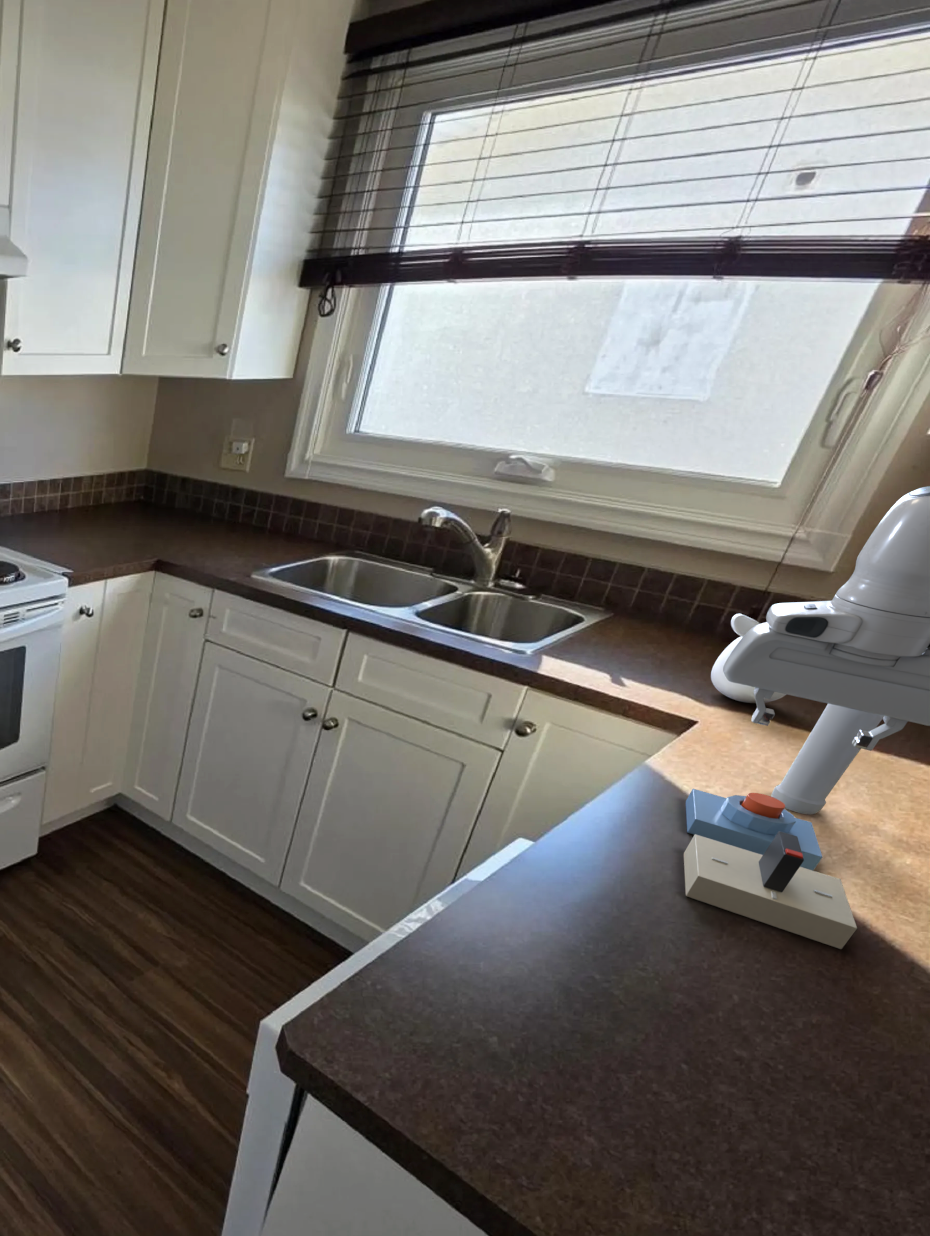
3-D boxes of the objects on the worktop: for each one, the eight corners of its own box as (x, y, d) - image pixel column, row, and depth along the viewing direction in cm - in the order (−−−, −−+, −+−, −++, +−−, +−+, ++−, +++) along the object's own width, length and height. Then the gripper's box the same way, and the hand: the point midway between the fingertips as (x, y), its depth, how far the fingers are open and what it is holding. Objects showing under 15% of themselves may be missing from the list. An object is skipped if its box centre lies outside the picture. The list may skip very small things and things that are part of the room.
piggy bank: (726, 711, 139) (771, 630, 132) (683, 683, 150) (723, 607, 143) (807, 719, 138) (857, 638, 131) (757, 691, 148) (802, 614, 141)
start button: (776, 811, 103) (783, 799, 103) (779, 822, 101) (787, 811, 100) (739, 800, 105) (746, 789, 105) (741, 811, 103) (748, 800, 102)
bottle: (766, 802, 112) (870, 637, 101) (771, 790, 115) (874, 628, 104) (816, 819, 109) (931, 650, 97) (821, 807, 112) (932, 641, 100)
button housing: (802, 835, 105) (819, 810, 103) (812, 871, 98) (831, 845, 96) (685, 801, 112) (699, 777, 110) (687, 832, 105) (702, 807, 103)
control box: (826, 899, 93) (841, 877, 92) (841, 949, 86) (858, 927, 84) (683, 853, 100) (695, 832, 99) (685, 896, 93) (698, 874, 91)
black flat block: (758, 862, 94) (779, 828, 92) (776, 867, 93) (798, 834, 91) (763, 886, 90) (785, 852, 88) (782, 892, 89) (805, 858, 87)
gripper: (1003, 645, 88) (925, 754, 94) (755, 601, 99) (700, 701, 105) (1021, 661, 83) (939, 774, 90) (759, 613, 95) (703, 717, 101)
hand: (808, 734), depth 98 cm, fingers open, 8 cm apart
